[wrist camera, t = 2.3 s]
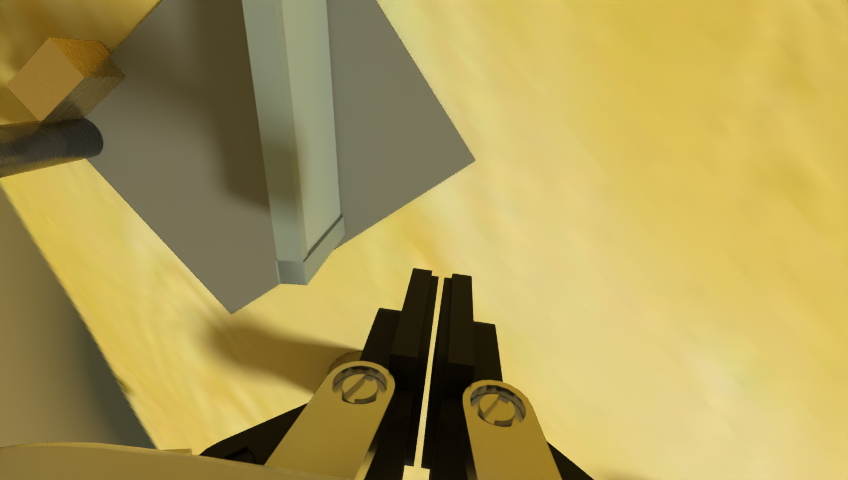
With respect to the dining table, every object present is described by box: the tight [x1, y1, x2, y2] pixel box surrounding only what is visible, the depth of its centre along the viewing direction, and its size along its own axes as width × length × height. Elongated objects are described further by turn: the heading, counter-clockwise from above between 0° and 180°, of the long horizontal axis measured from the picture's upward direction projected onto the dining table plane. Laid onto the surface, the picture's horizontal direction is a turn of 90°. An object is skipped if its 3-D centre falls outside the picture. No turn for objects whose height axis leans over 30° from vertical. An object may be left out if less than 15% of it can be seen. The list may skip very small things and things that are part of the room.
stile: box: [0, 37, 126, 178], centre depth 20 cm, size 6×4×9 cm, turn 124°
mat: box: [85, 0, 475, 314], centre depth 23 cm, size 20×16×1 cm
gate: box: [242, 0, 345, 285], centre depth 19 cm, size 14×1×6 cm, turn 179°
